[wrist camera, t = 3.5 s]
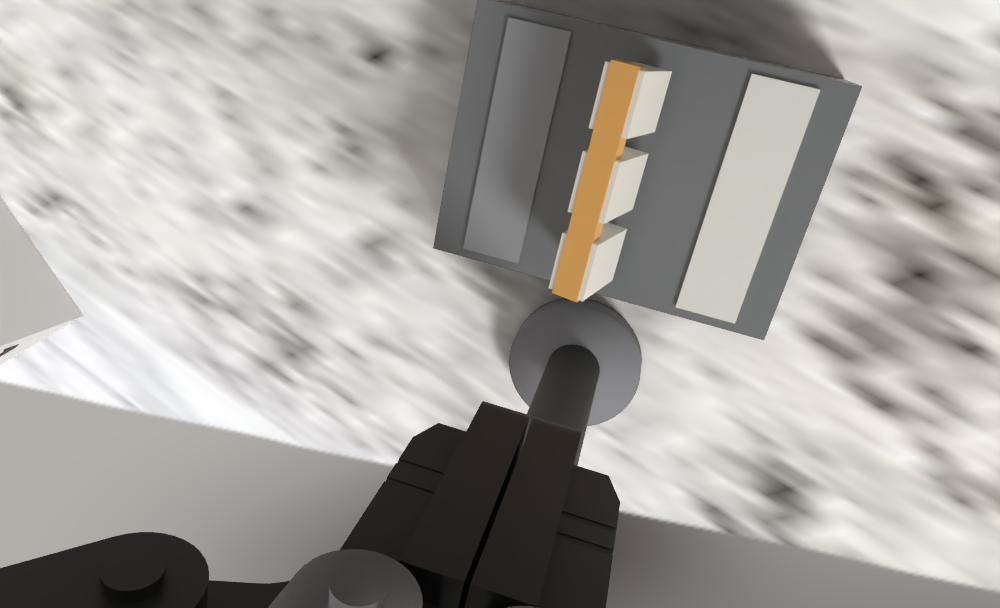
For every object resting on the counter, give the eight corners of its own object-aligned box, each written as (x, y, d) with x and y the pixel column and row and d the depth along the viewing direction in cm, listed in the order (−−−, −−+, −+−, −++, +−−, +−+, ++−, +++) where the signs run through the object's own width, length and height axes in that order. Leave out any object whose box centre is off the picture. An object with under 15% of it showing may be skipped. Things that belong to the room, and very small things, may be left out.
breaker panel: (845, 79, 29) (863, 86, 26) (757, 313, 33) (764, 341, 30) (496, -1, 31) (476, -2, 28) (453, 229, 34) (432, 249, 32)
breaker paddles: (672, 68, 27) (645, 68, 24) (611, 282, 30) (581, 304, 27) (636, 59, 27) (605, 57, 24) (580, 271, 30) (547, 291, 28)
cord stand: (657, 318, 34) (618, 725, 14) (622, 429, 36) (548, 904, 17) (529, 282, 35) (331, 624, 15) (503, 393, 37) (303, 808, 18)
